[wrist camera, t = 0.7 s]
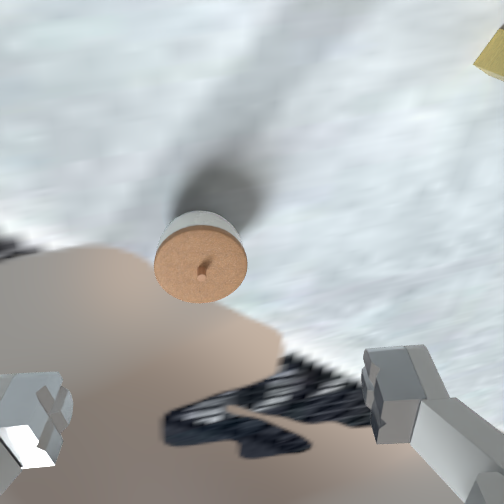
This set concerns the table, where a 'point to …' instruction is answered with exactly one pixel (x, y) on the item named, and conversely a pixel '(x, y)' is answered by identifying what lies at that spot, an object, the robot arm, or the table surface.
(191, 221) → the lidded jar
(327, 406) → the table surface
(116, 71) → the table surface
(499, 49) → the gold rectangular block
